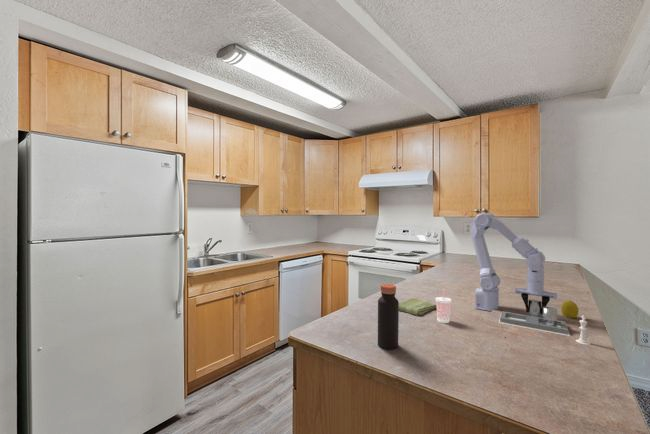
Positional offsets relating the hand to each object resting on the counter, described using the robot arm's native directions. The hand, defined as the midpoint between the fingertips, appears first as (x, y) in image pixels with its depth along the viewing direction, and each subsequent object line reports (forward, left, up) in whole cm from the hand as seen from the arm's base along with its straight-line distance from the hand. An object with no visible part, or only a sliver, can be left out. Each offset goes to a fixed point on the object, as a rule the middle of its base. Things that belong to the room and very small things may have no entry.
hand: (534, 312), depth 125 cm
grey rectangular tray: (-1, -11, -2) cm, 11 cm away
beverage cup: (-31, -25, -3) cm, 40 cm away
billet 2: (+5, -11, -1) cm, 12 cm away
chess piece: (+13, -21, -3) cm, 25 cm away
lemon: (+12, +7, -3) cm, 14 cm away
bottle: (-41, -59, -3) cm, 72 cm away
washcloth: (-45, -16, -3) cm, 48 cm away
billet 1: (0, 0, -2) cm, 2 cm away
